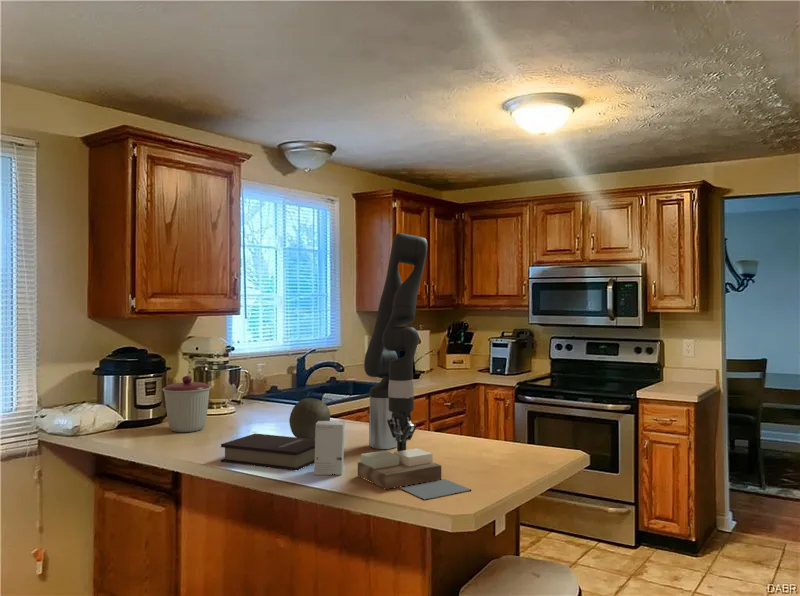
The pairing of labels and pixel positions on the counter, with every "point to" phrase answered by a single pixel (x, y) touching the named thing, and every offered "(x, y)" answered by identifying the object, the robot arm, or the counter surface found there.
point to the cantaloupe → (308, 417)
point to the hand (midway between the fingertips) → (401, 453)
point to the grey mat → (435, 489)
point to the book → (270, 451)
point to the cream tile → (414, 457)
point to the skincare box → (329, 448)
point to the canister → (187, 405)
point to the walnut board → (400, 474)
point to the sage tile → (379, 459)
